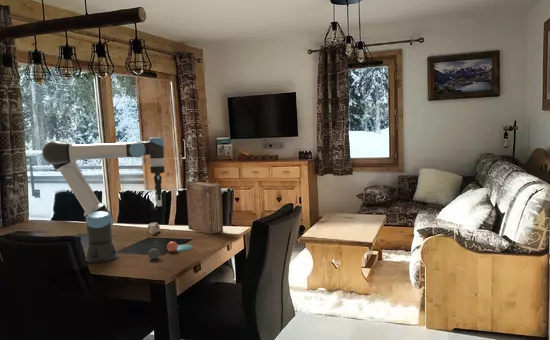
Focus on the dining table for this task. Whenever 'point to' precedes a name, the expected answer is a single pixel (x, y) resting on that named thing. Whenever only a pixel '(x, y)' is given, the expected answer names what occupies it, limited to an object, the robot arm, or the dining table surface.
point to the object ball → (172, 246)
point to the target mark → (184, 248)
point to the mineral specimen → (153, 228)
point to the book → (204, 207)
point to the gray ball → (154, 253)
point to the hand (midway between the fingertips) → (158, 204)
